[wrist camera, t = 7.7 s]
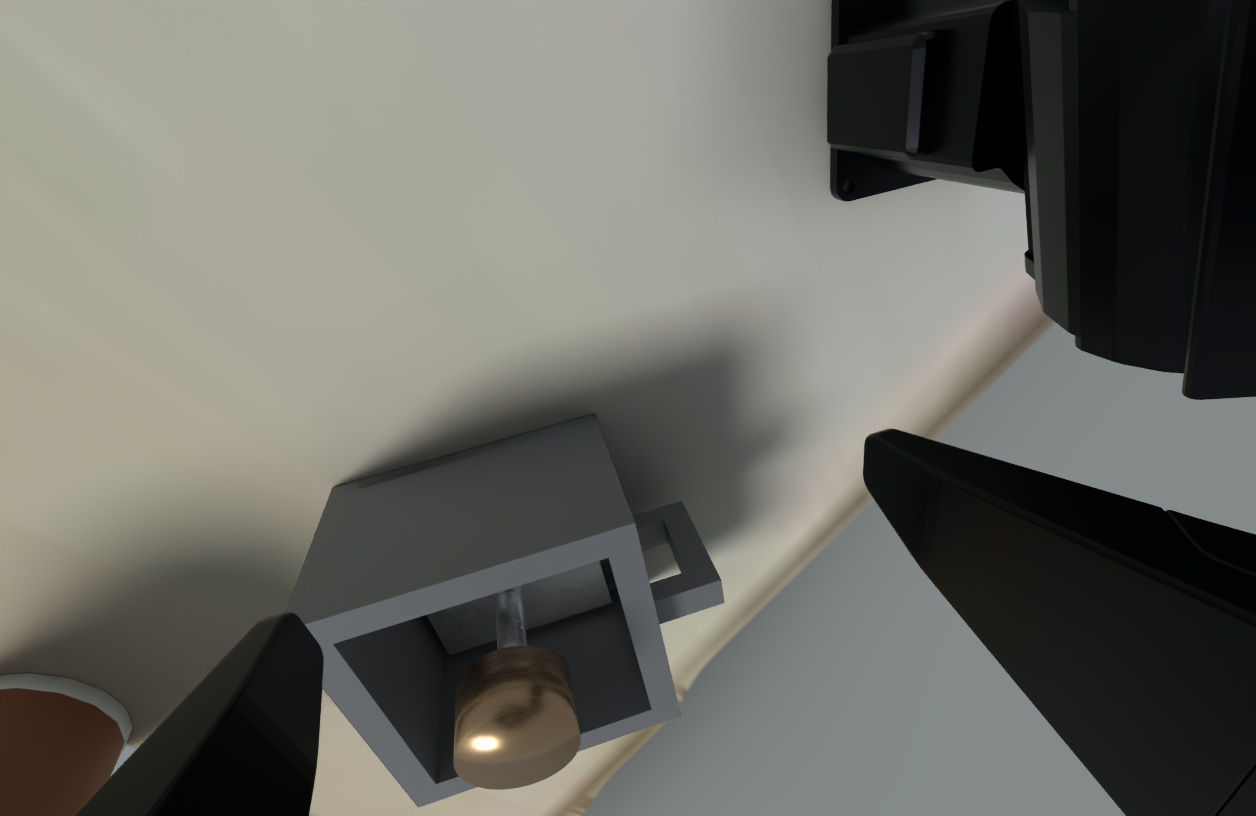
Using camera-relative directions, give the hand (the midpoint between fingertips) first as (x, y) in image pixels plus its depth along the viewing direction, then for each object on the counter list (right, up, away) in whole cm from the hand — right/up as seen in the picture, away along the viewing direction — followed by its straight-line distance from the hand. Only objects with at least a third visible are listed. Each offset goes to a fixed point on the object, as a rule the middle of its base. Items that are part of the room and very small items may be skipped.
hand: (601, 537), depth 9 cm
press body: (-4, -3, +15) cm, 16 cm away
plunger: (-5, -4, +14) cm, 15 cm away
